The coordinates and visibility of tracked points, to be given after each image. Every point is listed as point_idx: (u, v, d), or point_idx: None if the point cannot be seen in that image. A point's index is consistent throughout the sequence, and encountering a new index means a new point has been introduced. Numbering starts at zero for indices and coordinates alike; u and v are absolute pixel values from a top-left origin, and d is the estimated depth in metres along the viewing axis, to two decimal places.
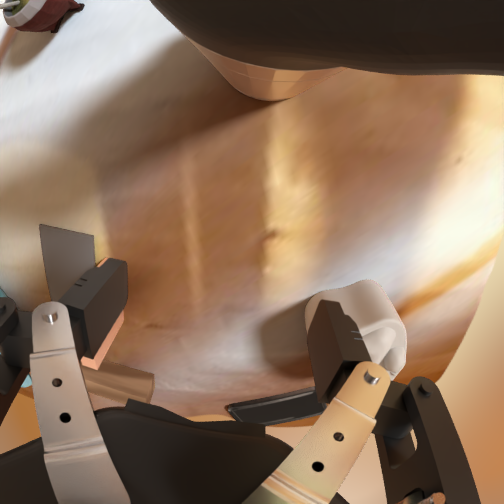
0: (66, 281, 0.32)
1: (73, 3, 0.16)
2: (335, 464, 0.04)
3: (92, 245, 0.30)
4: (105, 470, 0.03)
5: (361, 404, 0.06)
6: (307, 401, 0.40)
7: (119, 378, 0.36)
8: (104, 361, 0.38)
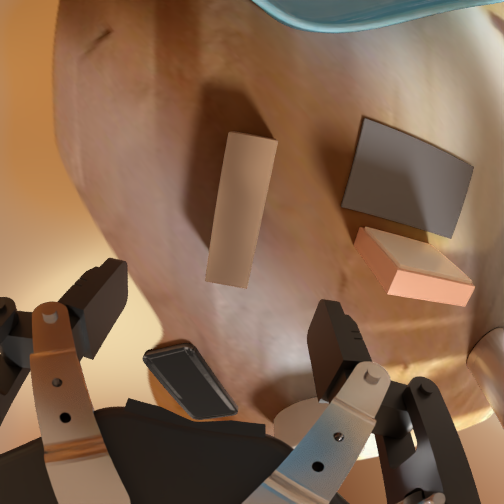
0: (415, 177, 0.24)
1: None
2: (335, 464, 0.04)
3: (444, 235, 0.26)
4: (105, 470, 0.03)
5: (361, 404, 0.06)
6: (215, 407, 0.38)
7: None
8: None
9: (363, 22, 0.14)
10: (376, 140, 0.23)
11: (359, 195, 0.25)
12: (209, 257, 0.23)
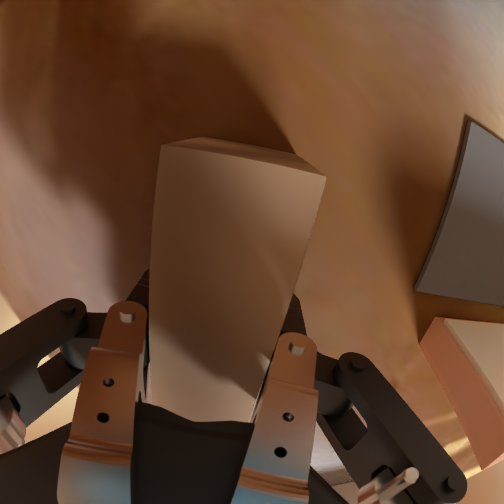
0: None
1: None
2: (296, 444, 0.05)
3: None
4: (105, 470, 0.03)
5: (296, 377, 0.07)
6: None
7: None
8: None
9: None
10: (485, 166, 0.10)
11: (446, 269, 0.12)
12: None
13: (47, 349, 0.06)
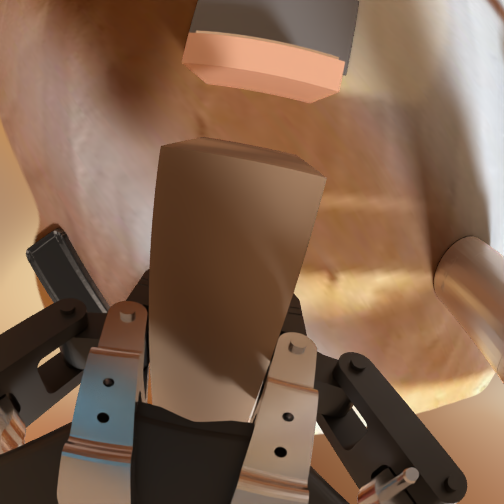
0: (273, 8, 0.18)
1: None
2: (296, 445, 0.05)
3: None
4: (105, 470, 0.03)
5: (296, 377, 0.07)
6: None
7: None
8: None
9: None
10: None
11: None
12: None
13: (47, 349, 0.06)
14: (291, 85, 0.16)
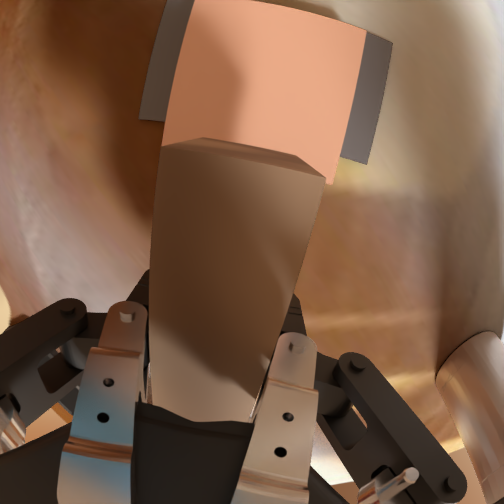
0: None
1: None
2: (296, 445, 0.05)
3: (349, 158, 0.16)
4: (105, 470, 0.03)
5: (296, 377, 0.07)
6: None
7: None
8: None
9: None
10: (186, 17, 0.12)
11: (162, 97, 0.15)
12: None
13: (47, 349, 0.06)
14: (313, 50, 0.12)
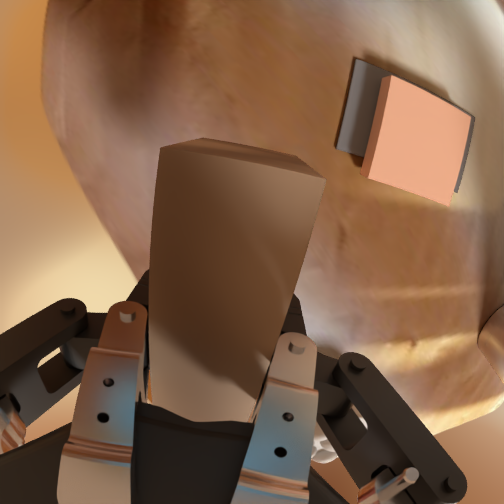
0: None
1: None
2: (296, 445, 0.05)
3: None
4: (105, 470, 0.03)
5: (296, 377, 0.07)
6: None
7: None
8: None
9: None
10: (370, 81, 0.20)
11: (354, 137, 0.22)
12: None
13: (47, 349, 0.06)
14: (448, 128, 0.19)
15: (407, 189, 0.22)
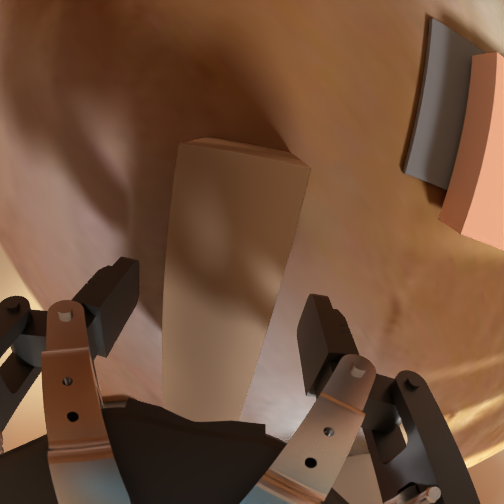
0: None
1: None
2: (328, 459, 0.04)
3: None
4: (105, 470, 0.03)
5: (348, 397, 0.06)
6: None
7: None
8: None
9: None
10: (455, 57, 0.09)
11: (434, 153, 0.11)
12: (164, 391, 0.11)
13: (3, 347, 0.05)
14: None
15: None
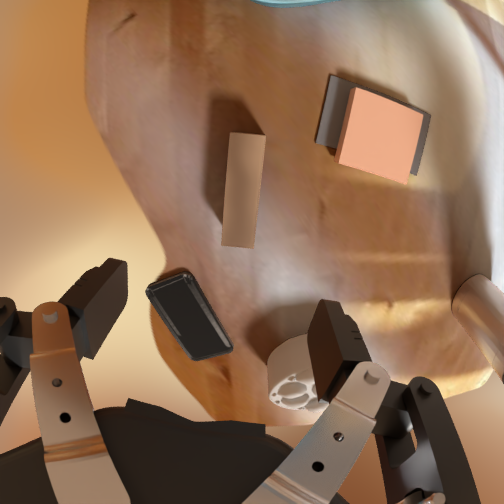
0: None
1: None
2: (335, 464, 0.04)
3: None
4: (105, 470, 0.03)
5: (361, 404, 0.06)
6: (212, 344, 0.43)
7: None
8: None
9: None
10: (341, 91, 0.28)
11: (329, 134, 0.31)
12: (223, 226, 0.31)
13: None
14: (402, 124, 0.27)
15: (370, 171, 0.30)
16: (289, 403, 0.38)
